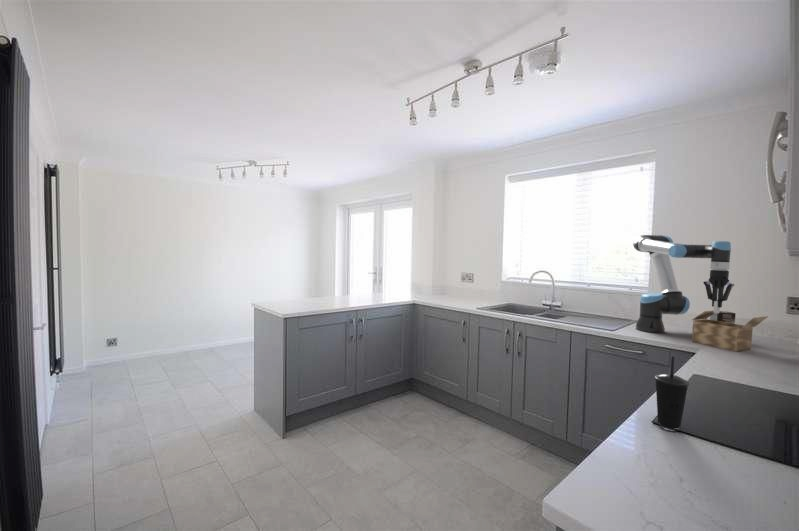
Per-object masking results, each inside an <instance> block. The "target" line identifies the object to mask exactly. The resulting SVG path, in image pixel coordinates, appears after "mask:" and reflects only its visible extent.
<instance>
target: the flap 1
mask: <svg viewBox="0 0 799 531" xmlns="http://www.w3.org/2000/svg"><path fill="white" fill-rule="evenodd" d="M713 314H714V313H713V310H705V311H703V312H701V313H700V314H698V315H697V316H695V317H693V318H692V319H691V321H694V320H704V319H708V318H710V316H711V315H713Z"/></svg>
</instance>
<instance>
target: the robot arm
mask: <svg viewBox="0 0 799 531" xmlns="http://www.w3.org/2000/svg"><path fill="white" fill-rule="evenodd" d="M632 246H633V247H634V249H635V250H636V251H637V252H640V253H649V257H650V258H651V259H653V262H654V266H655V270H656V275H657V279H658V283H659V287H660V291H661V292H658V293H657V292H656V293H655V292H650V293H649V292H647V293H643V294H641V296H640V298H639V299H640V300H639V302H640V303H639V317H638V320H637V321H636V324H635V329H636V330H637V329H638V331H641V330H642V332H646V331H648V333H654V332H658V333H657V334H660V333H661V334H663V333H662V332H664V333H665V331H666V328H665V325H664V322H663V315H674V316H679V315H684V314H686V313H688V311H689V309H690V305H691V303H690V300H689V298H688V297H687V296H684V295H683V292H682V291H680V290H679V288H678V285H677V280H676V277H675V272H674V269H673V265H672V262H671V258H676V259H681V258H682V259H683V258H684V259H689V258H690V259H710V269H711V270H710V269H709V279H707V280H706V281H703V285H704V286H705V291H706V296H707V299H708V300H710V301H711V307H713V310H712V311H713V313H716V314H717V313H719V311H721V309H720V308H722V307H723V302H727V301H728V298H729V296H730V293H731V291H732V288H733V287H734V286H735V283H732V282H730V279H729V278H730V277H729V275H730V271H729V270H730V260H731V250H732V244H731V242H730V241H729V240H727V241H726V240H725V241H723V240H718V241H717V240H715V241H712V243H711V244H682V243H675V242H674V240H673V239H672V238H671V237H670V236H668V235H663V234H659V235H654V234H653V235H652V234H650V235H649V234H643V235H639V236H637V237H636V238H635V239H634V240H633V243H632ZM670 257H671V258H670ZM711 285H712V286H711ZM724 289H725V290H724Z"/></svg>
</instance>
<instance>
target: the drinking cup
mask: <svg viewBox="0 0 799 531" xmlns="http://www.w3.org/2000/svg"><path fill="white" fill-rule="evenodd" d="M674 369H675V356H671V358H670V372H669V373H662V374H655V376H654V380H655V391H656V392H655V393H656V395H655V396H656V410H657V423H658V422H659V423H660V424H661V425H663V426H665V427H668V428H679V427H680V428H681V426H682V419H683V414H684V410H685V405H686V404H685V403H686V399H687V392H688V387H689V386H690V382H689V381H688V380H686V379H684V377H683V378H682V377H681V376H678V375H675V374H674V371H675V370H674Z"/></svg>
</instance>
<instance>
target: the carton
mask: <svg viewBox="0 0 799 531" xmlns="http://www.w3.org/2000/svg"><path fill="white" fill-rule="evenodd" d="M744 325H745V324H738V323H735V324H733V323H727V322H721V321H714V320H710V319H708V318H707V319H700V320H692V338H691V342H692V343H695V344H699V345H700V344H701V345H704V346H709V347H714V348H719V349H724V350H728V351H732V352H737V353H740V352H745V351H750V350H752V342H753V341H752V340H753V328H754V327H752V328H745V329H740V328H741V327H743V326H744Z"/></svg>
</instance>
